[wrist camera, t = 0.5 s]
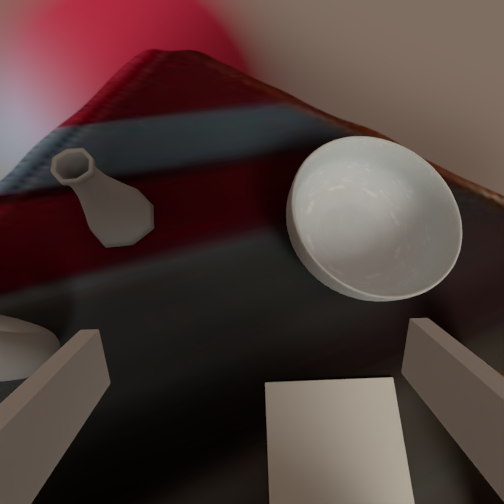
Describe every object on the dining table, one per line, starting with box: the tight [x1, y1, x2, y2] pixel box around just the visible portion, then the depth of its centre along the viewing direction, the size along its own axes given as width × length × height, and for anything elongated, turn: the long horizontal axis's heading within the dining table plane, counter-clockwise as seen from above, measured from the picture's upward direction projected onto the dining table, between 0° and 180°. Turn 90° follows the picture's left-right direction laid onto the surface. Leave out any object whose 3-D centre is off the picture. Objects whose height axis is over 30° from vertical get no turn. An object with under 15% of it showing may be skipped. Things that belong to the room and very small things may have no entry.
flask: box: [50, 148, 154, 248], centre depth 25 cm, size 7×7×10 cm
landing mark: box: [265, 377, 415, 504], centre depth 24 cm, size 13×13×1 cm
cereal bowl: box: [286, 136, 462, 302], centre depth 28 cm, size 17×17×7 cm
